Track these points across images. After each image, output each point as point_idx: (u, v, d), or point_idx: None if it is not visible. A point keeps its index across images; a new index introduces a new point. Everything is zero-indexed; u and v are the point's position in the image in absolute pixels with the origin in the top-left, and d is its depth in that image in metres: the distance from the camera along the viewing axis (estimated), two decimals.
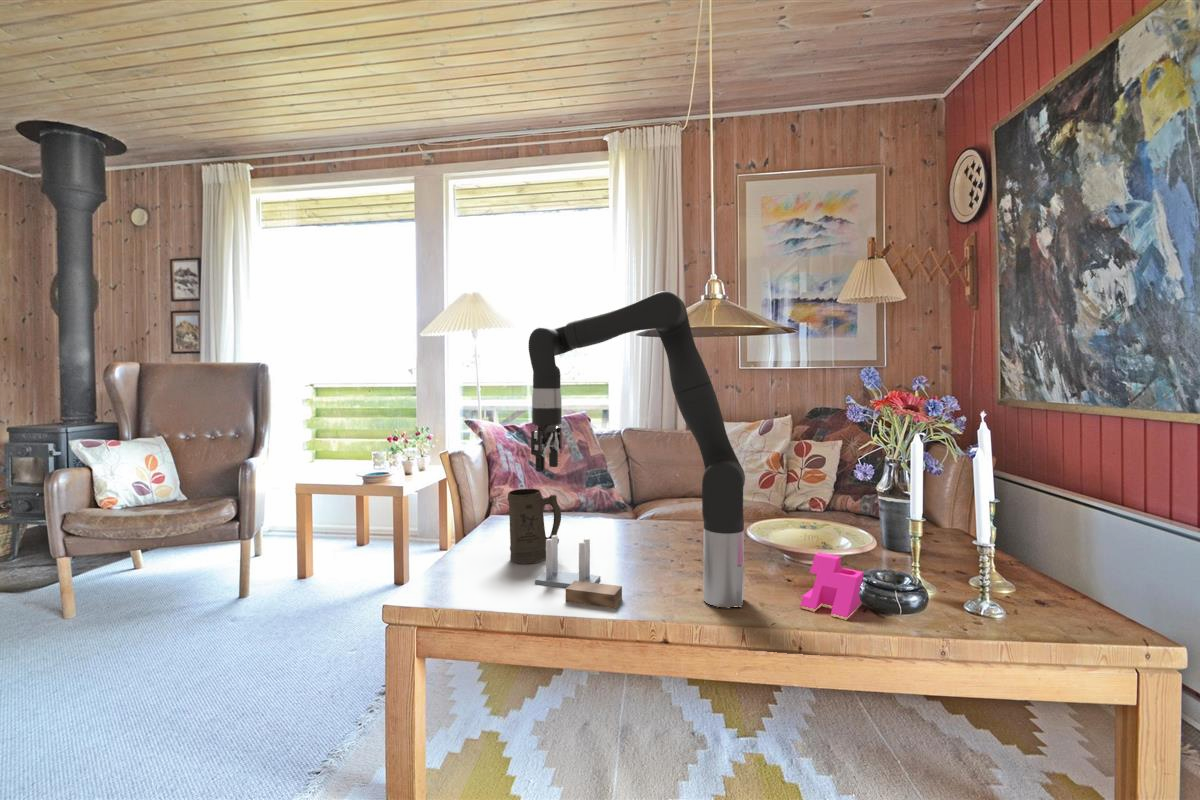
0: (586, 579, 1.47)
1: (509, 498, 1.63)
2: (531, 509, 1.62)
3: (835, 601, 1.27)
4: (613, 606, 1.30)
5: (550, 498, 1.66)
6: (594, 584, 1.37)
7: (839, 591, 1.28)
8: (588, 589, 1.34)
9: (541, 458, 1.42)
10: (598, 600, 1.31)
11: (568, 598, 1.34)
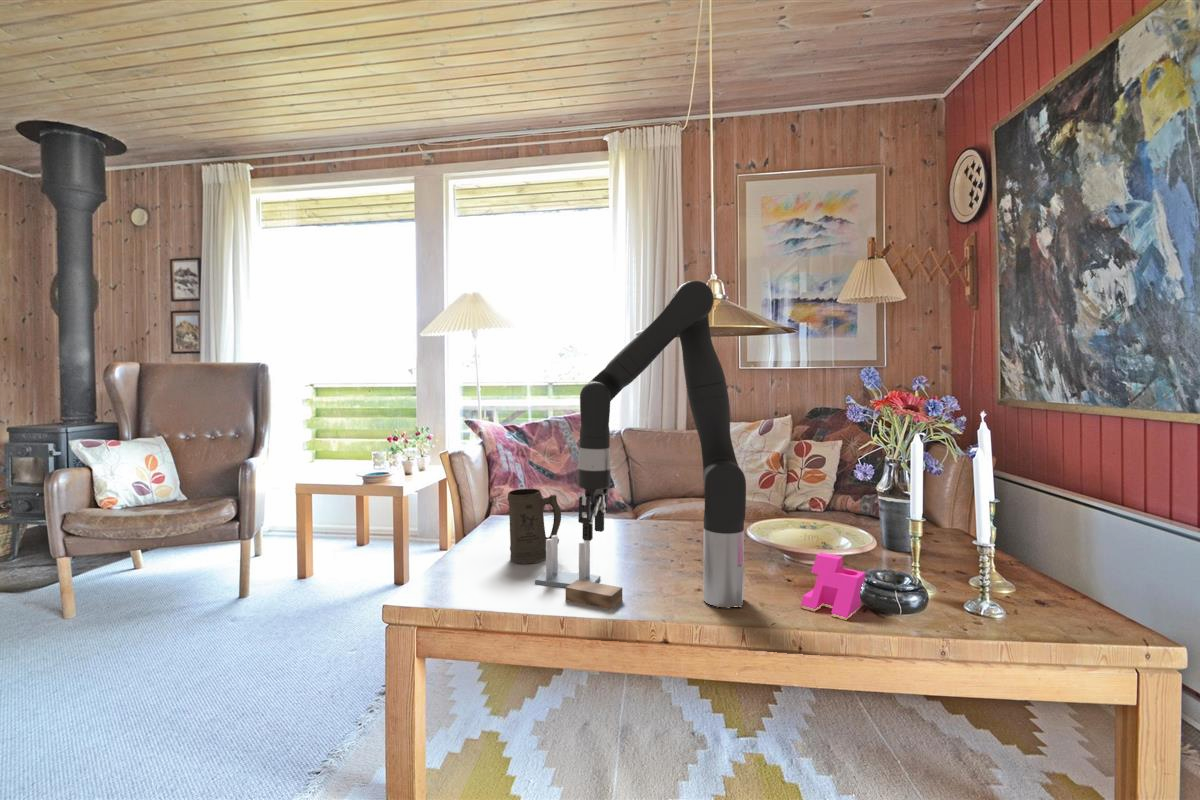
0: (586, 579, 1.47)
1: (509, 498, 1.63)
2: (531, 509, 1.62)
3: (835, 601, 1.27)
4: (610, 607, 1.30)
5: (550, 498, 1.66)
6: (595, 584, 1.37)
7: (840, 591, 1.28)
8: (587, 588, 1.34)
9: (589, 526, 1.30)
10: (596, 600, 1.31)
11: (568, 597, 1.35)
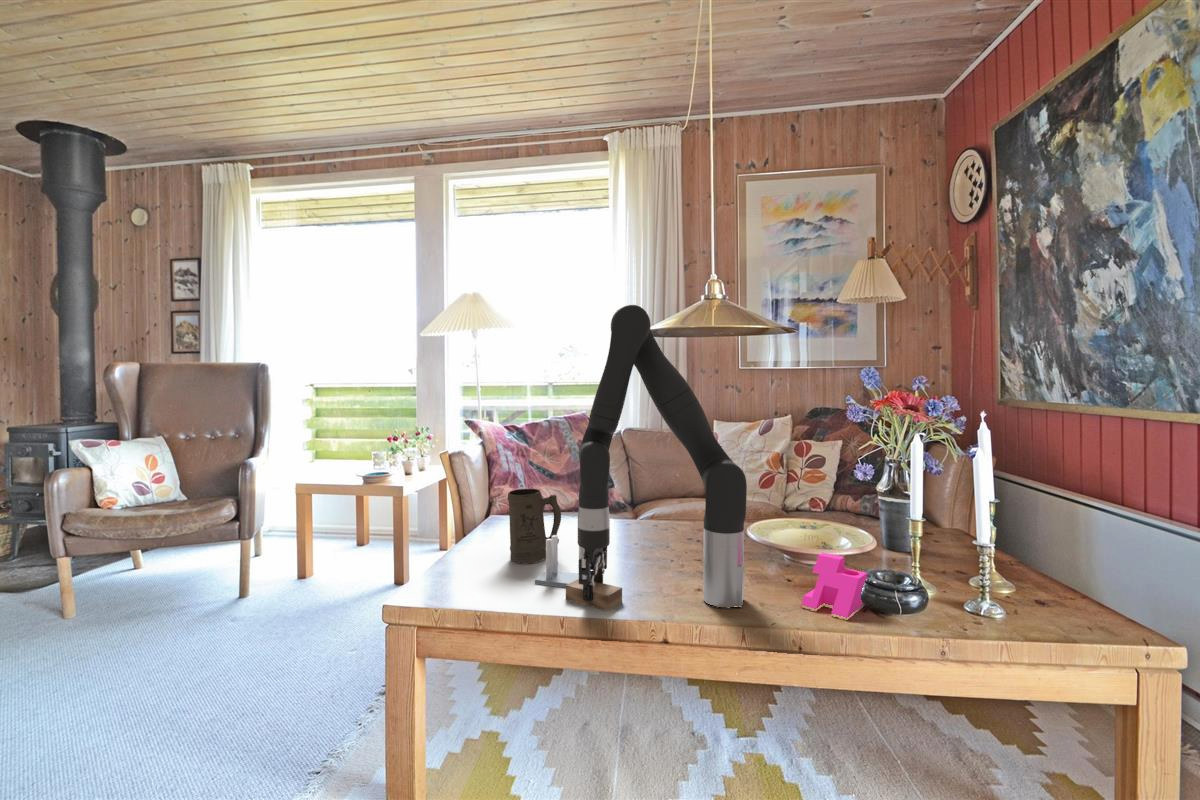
0: None
1: (509, 498, 1.63)
2: (531, 509, 1.62)
3: (836, 601, 1.27)
4: (607, 607, 1.29)
5: (550, 498, 1.66)
6: (596, 583, 1.37)
7: (840, 591, 1.28)
8: None
9: (589, 587, 1.30)
10: (594, 599, 1.31)
11: (568, 595, 1.35)
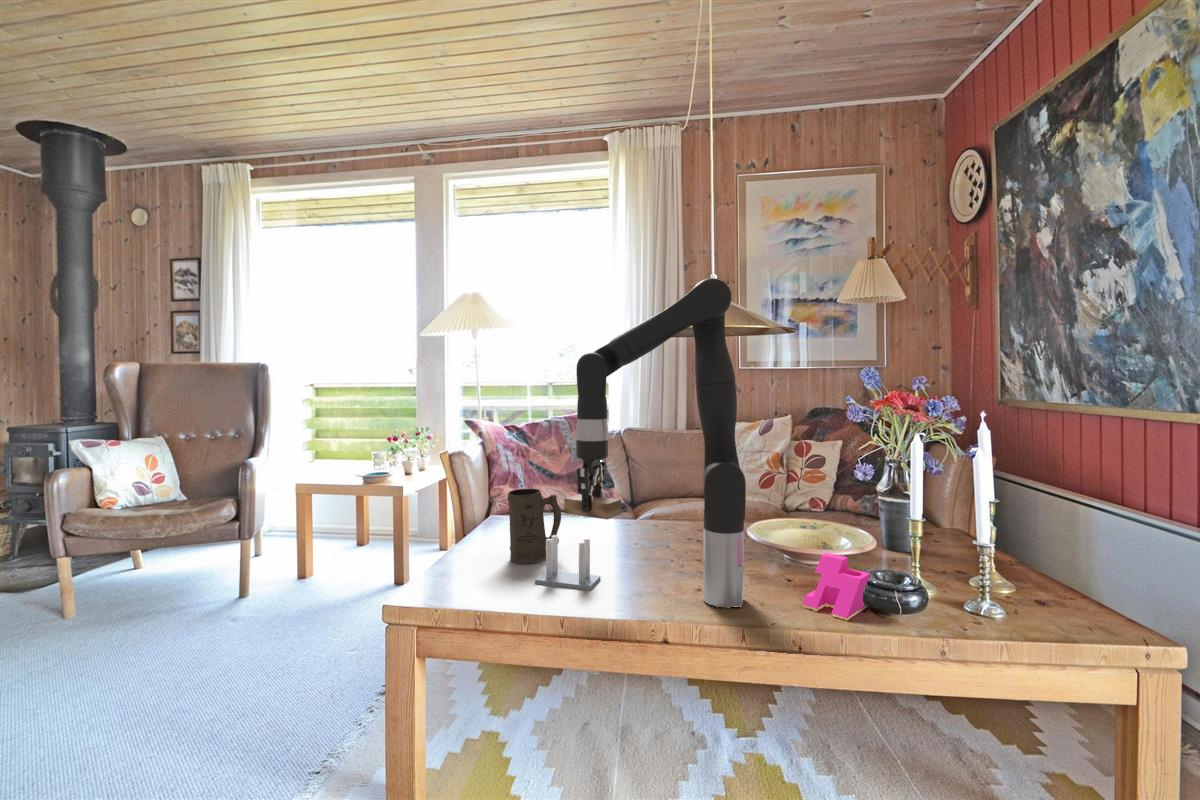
0: (586, 579, 1.47)
1: (509, 498, 1.63)
2: (531, 509, 1.62)
3: (837, 601, 1.27)
4: (606, 515, 1.29)
5: (550, 498, 1.66)
6: (594, 497, 1.37)
7: (842, 591, 1.28)
8: None
9: (588, 497, 1.31)
10: (593, 509, 1.31)
11: (566, 508, 1.35)
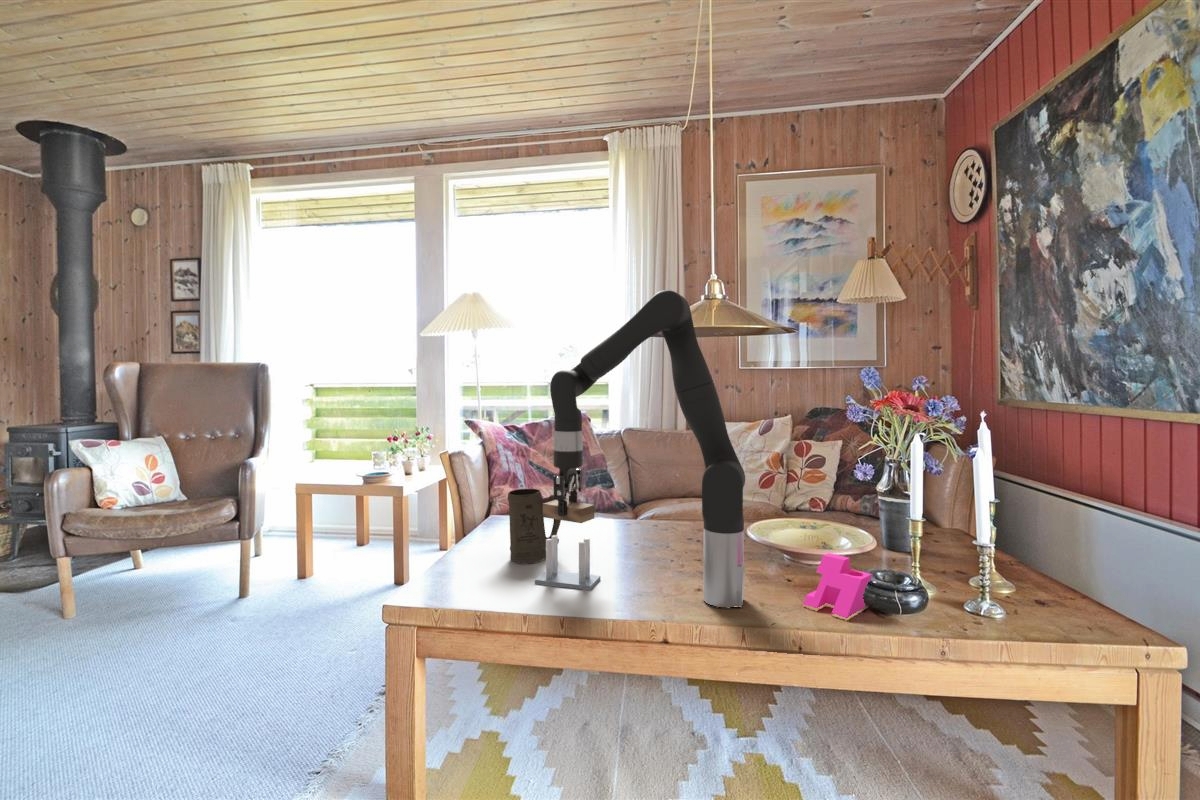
0: (586, 579, 1.47)
1: (509, 498, 1.63)
2: (531, 509, 1.62)
3: (837, 601, 1.27)
4: (580, 519, 1.42)
5: (550, 498, 1.66)
6: (571, 502, 1.49)
7: (842, 592, 1.28)
8: None
9: (564, 503, 1.43)
10: (568, 514, 1.43)
11: (545, 512, 1.47)
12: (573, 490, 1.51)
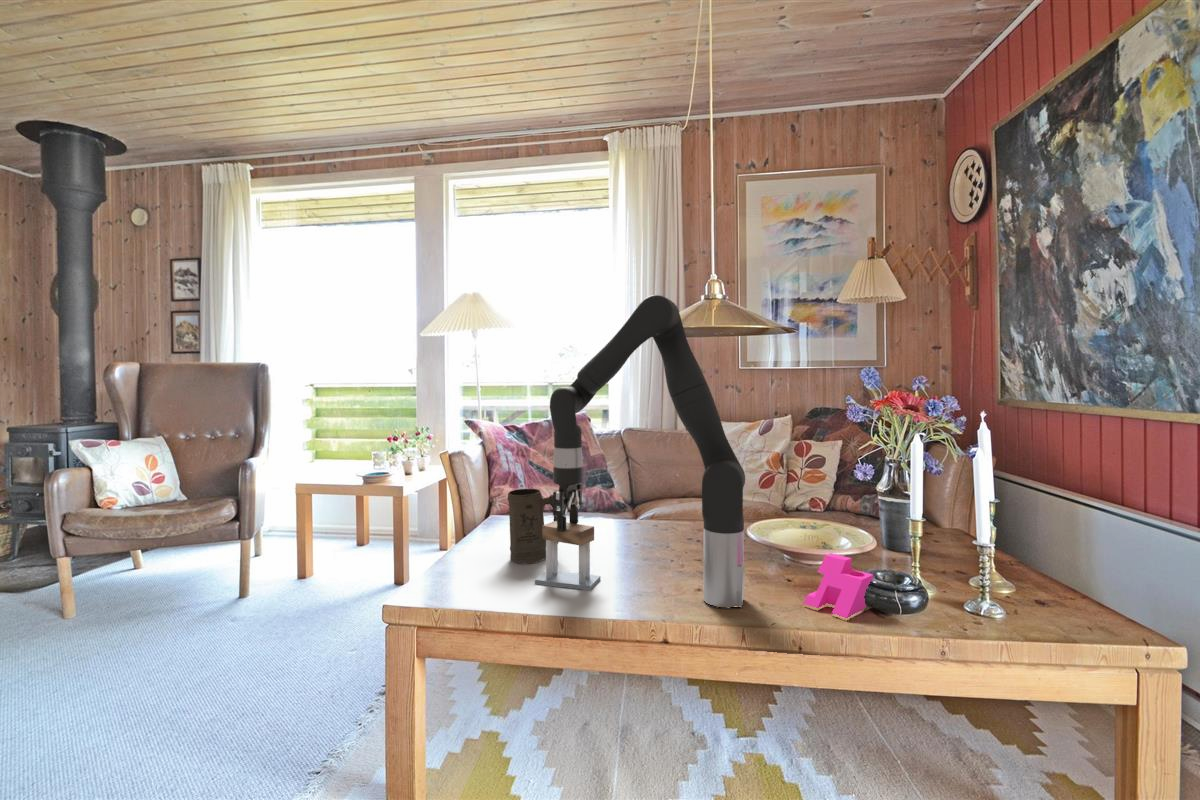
0: (586, 579, 1.47)
1: (509, 498, 1.63)
2: (531, 509, 1.62)
3: (837, 601, 1.27)
4: (581, 542, 1.42)
5: (550, 498, 1.66)
6: (570, 524, 1.49)
7: (843, 592, 1.28)
8: None
9: (563, 518, 1.42)
10: (568, 536, 1.44)
11: (544, 534, 1.47)
12: (574, 504, 1.52)
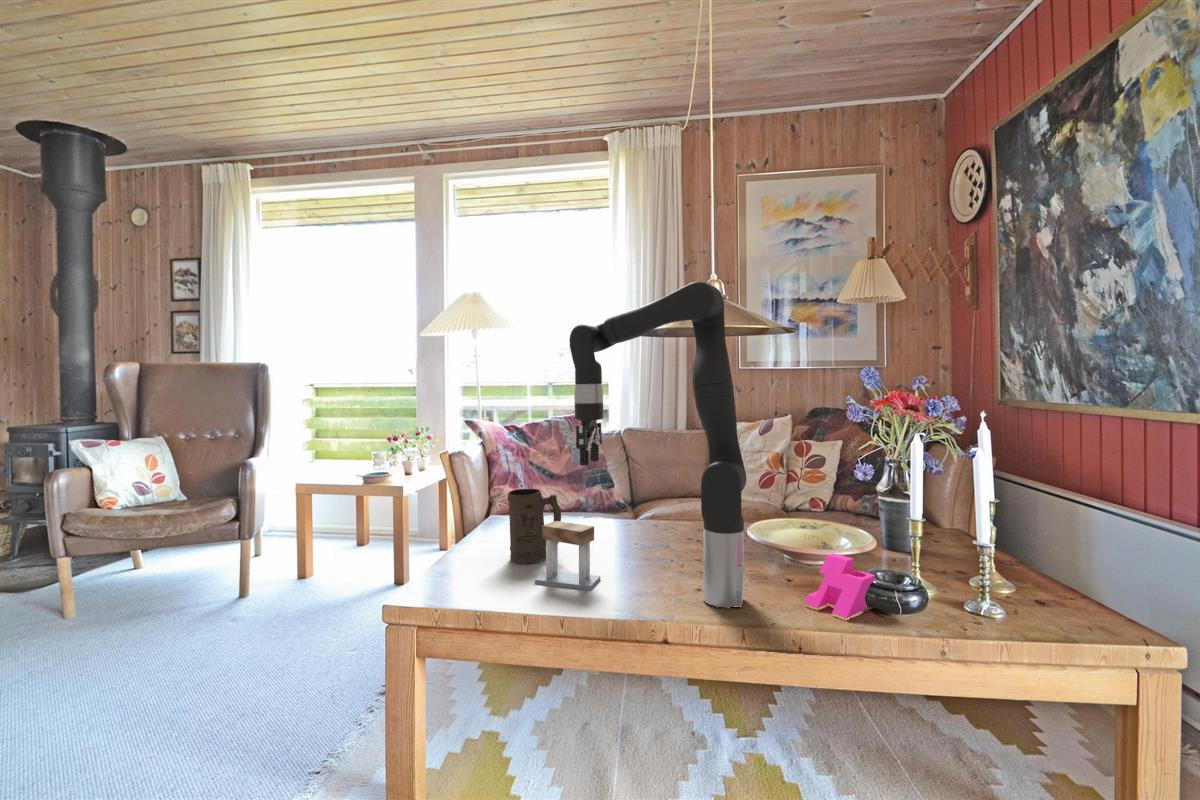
0: (586, 579, 1.47)
1: (509, 498, 1.63)
2: (531, 509, 1.62)
3: (838, 601, 1.27)
4: (581, 542, 1.42)
5: (550, 498, 1.66)
6: (570, 524, 1.49)
7: (844, 592, 1.28)
8: (562, 526, 1.46)
9: (586, 452, 1.45)
10: (568, 536, 1.44)
11: (544, 534, 1.47)
12: (594, 442, 1.55)
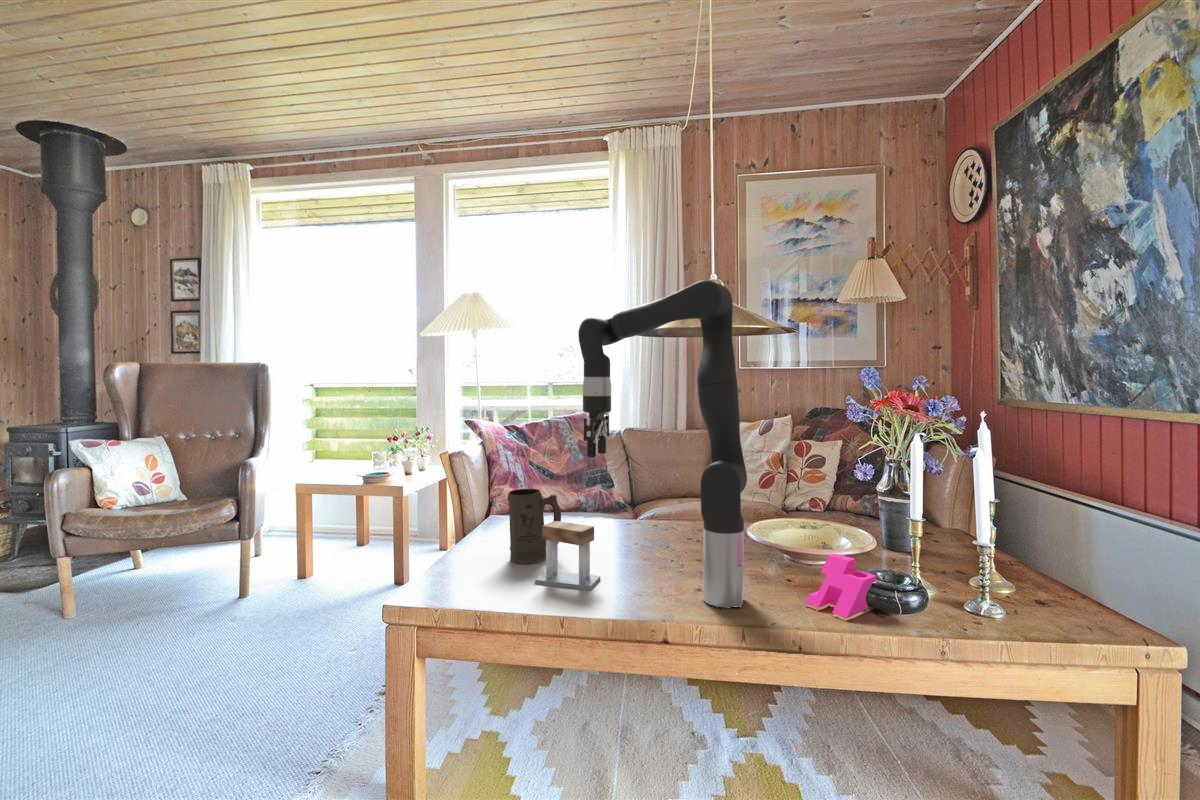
0: (586, 579, 1.47)
1: (509, 498, 1.63)
2: (531, 509, 1.62)
3: (838, 601, 1.27)
4: (581, 542, 1.42)
5: (550, 498, 1.66)
6: (570, 524, 1.49)
7: (844, 592, 1.28)
8: (562, 526, 1.46)
9: (593, 444, 1.47)
10: (568, 536, 1.44)
11: (544, 534, 1.47)
12: (602, 435, 1.56)
